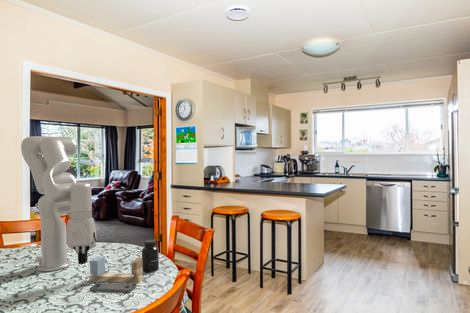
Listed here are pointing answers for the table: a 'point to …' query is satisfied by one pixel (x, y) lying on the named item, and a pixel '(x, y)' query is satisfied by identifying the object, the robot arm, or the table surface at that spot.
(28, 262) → the table surface
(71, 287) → the table surface
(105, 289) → the flange plate
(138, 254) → the table surface
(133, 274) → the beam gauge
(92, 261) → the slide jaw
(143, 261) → the supplement bottle
